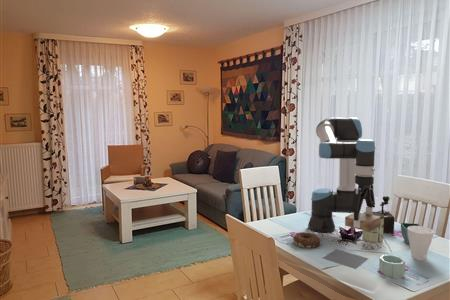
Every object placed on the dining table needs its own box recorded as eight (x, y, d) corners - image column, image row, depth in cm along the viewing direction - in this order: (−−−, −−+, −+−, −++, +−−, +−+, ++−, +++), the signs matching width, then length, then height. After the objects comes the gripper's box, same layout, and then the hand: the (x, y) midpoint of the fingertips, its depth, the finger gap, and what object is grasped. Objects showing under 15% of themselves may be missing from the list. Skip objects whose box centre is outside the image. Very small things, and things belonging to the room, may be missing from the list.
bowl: (376, 272, 144) (377, 259, 143) (384, 265, 151) (384, 252, 150) (399, 280, 138) (399, 266, 137) (406, 272, 144) (407, 258, 144)
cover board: (345, 225, 150) (345, 216, 150) (356, 220, 157) (356, 211, 157) (369, 231, 142) (370, 222, 142) (380, 225, 150) (380, 216, 149)
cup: (431, 264, 151) (433, 235, 150) (405, 259, 157) (406, 231, 155) (432, 255, 160) (433, 228, 158) (406, 251, 166) (408, 224, 164)
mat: (322, 259, 158) (322, 258, 158) (336, 250, 168) (336, 248, 168) (355, 270, 147) (355, 268, 147) (368, 259, 157) (368, 258, 157)
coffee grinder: (395, 233, 188) (397, 202, 186) (374, 232, 190) (375, 201, 188) (387, 224, 204) (388, 195, 201) (368, 223, 206) (369, 194, 204)
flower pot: (423, 246, 171) (424, 229, 170) (404, 245, 173) (405, 228, 172) (417, 239, 179) (418, 223, 178) (399, 238, 181) (400, 222, 180)
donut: (288, 245, 176) (288, 235, 175) (302, 237, 185) (302, 228, 185) (312, 252, 166) (312, 243, 165) (326, 244, 175) (326, 235, 175)
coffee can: (361, 235, 187) (362, 210, 185) (381, 237, 183) (383, 212, 182) (362, 242, 177) (363, 216, 175) (384, 244, 174) (385, 218, 172)
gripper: (360, 180, 137) (359, 232, 139) (384, 172, 153) (382, 220, 155) (343, 177, 142) (342, 228, 144) (367, 171, 158) (366, 216, 160)
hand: (362, 224), depth 150 cm, fingers closed on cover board, 11 cm apart
